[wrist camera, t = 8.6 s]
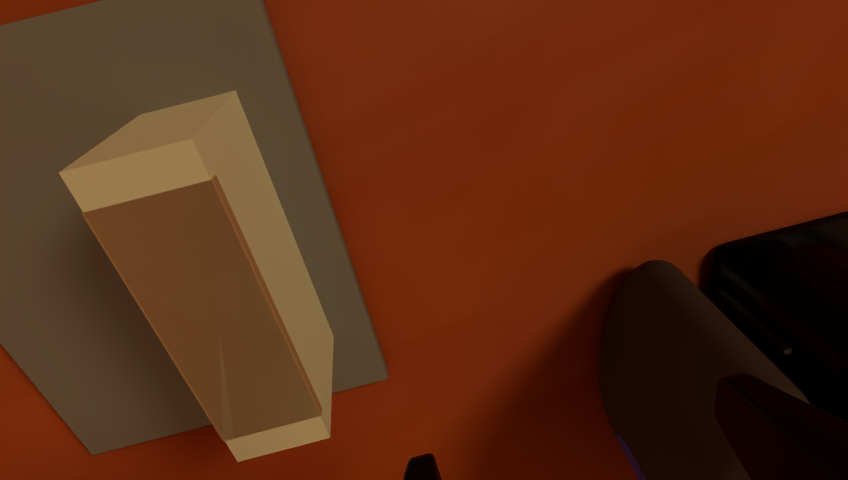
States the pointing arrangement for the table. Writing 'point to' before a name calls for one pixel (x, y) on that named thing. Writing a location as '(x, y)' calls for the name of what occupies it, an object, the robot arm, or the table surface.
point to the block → (214, 269)
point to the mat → (75, 241)
